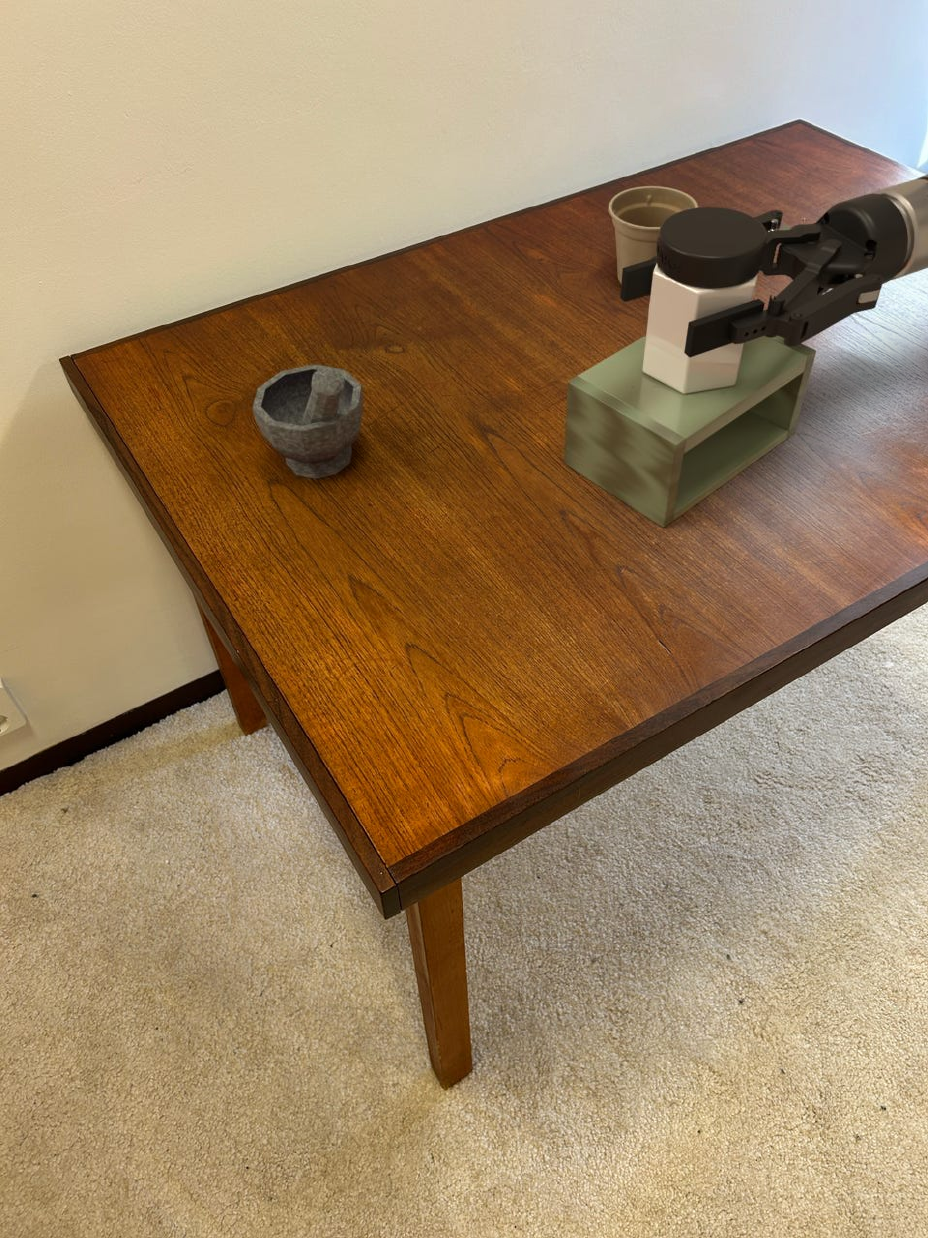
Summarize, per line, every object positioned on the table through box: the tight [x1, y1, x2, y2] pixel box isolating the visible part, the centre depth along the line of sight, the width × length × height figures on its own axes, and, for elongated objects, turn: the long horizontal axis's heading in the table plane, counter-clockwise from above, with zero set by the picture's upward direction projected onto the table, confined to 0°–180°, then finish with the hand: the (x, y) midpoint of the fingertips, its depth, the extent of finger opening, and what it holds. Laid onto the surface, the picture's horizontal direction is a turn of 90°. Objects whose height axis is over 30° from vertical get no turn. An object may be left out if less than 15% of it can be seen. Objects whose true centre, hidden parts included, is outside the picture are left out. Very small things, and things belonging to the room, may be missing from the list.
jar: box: [642, 206, 767, 394], centre depth 78 cm, size 9×8×12 cm
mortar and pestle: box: [252, 364, 364, 480], centre depth 86 cm, size 11×9×12 cm
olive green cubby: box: [563, 334, 817, 529], centre depth 86 cm, size 12×18×9 cm, turn 131°
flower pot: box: [608, 185, 699, 284], centre depth 106 cm, size 9×9×9 cm
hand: (655, 311), depth 77 cm, fingers closed on jar, 8 cm apart
